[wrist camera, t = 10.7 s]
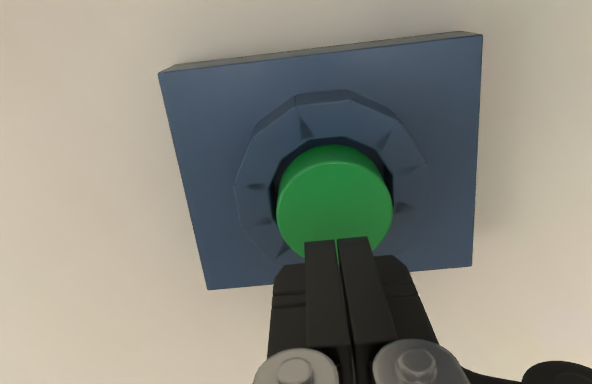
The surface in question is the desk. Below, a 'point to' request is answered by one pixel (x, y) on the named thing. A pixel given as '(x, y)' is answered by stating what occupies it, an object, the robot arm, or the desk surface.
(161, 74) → the housing
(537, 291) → the desk surface
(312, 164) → the button
